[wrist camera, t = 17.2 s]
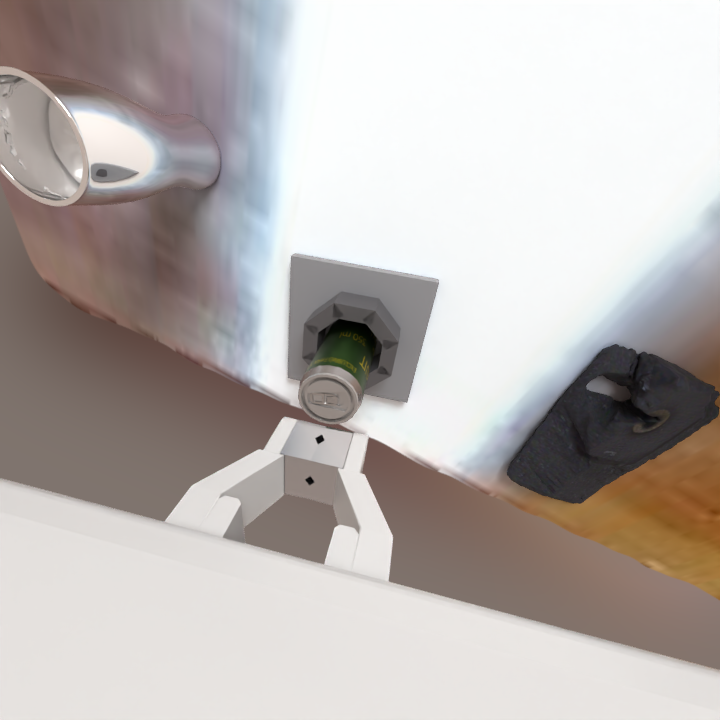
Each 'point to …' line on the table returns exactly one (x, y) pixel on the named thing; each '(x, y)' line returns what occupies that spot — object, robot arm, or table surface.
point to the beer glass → (95, 143)
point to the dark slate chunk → (612, 425)
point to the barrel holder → (360, 317)
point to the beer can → (338, 373)
